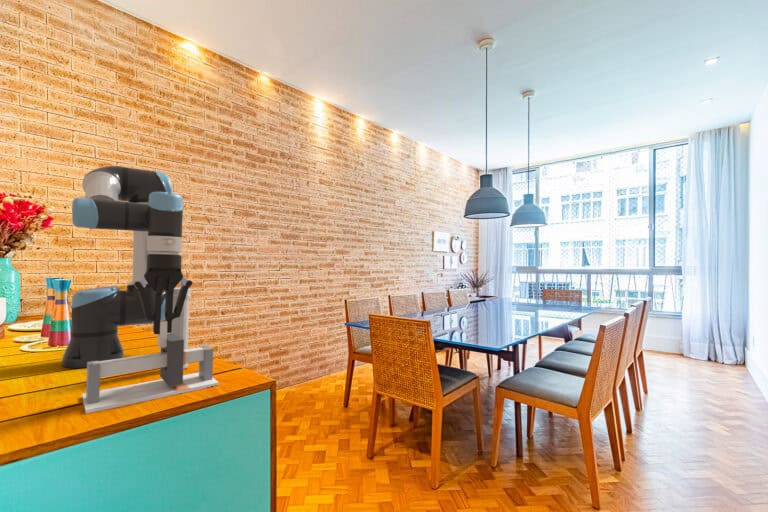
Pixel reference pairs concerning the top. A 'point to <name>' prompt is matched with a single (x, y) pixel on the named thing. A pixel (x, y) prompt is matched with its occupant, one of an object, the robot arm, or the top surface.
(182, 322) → the pipe
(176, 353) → the collar
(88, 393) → the rail
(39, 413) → the top surface
